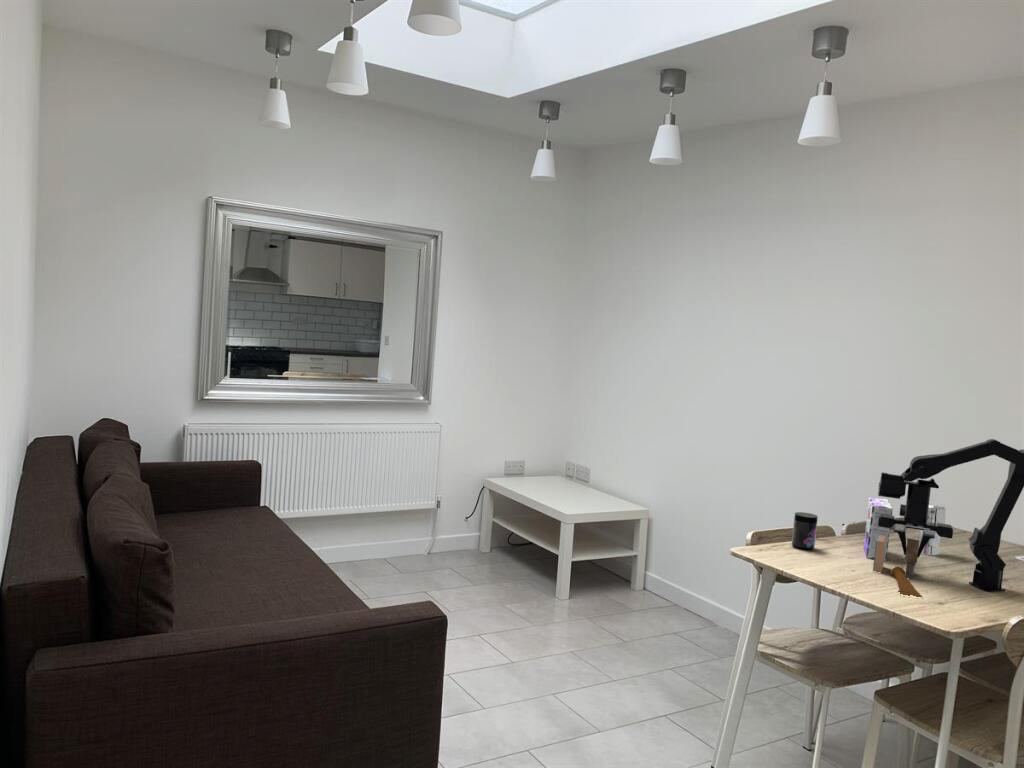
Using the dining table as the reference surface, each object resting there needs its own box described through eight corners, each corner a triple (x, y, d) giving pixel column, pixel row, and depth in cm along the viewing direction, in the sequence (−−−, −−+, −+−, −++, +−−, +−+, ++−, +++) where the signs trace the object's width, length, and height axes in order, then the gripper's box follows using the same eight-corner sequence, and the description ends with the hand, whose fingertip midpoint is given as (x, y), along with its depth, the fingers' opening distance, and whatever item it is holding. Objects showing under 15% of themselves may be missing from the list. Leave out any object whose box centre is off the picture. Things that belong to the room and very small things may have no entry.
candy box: (862, 547, 256) (868, 496, 255) (883, 550, 254) (889, 499, 253) (865, 558, 243) (871, 504, 242) (887, 561, 241) (893, 507, 240)
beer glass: (934, 557, 251) (939, 509, 249) (912, 551, 256) (917, 504, 255) (945, 555, 255) (950, 508, 254) (923, 549, 260) (928, 503, 259)
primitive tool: (923, 600, 207) (924, 587, 207) (900, 597, 208) (901, 584, 208) (903, 579, 226) (904, 566, 225) (882, 576, 227) (883, 564, 226)
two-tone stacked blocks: (915, 572, 232) (919, 538, 231) (915, 580, 224) (919, 544, 223) (903, 570, 233) (907, 536, 232) (903, 577, 225) (907, 542, 224)
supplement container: (799, 551, 246) (802, 517, 245) (786, 544, 252) (790, 511, 252) (818, 551, 247) (822, 517, 247) (805, 545, 254) (809, 512, 253)
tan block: (883, 566, 235) (886, 536, 234) (881, 573, 228) (885, 542, 227) (874, 565, 236) (877, 535, 235) (872, 571, 229) (876, 540, 228)
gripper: (954, 502, 230) (948, 556, 231) (882, 491, 238) (877, 543, 239) (955, 508, 220) (949, 565, 221) (880, 497, 228) (874, 551, 229)
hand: (911, 555), depth 228 cm, fingers closed on two-tone stacked blocks, 3 cm apart
